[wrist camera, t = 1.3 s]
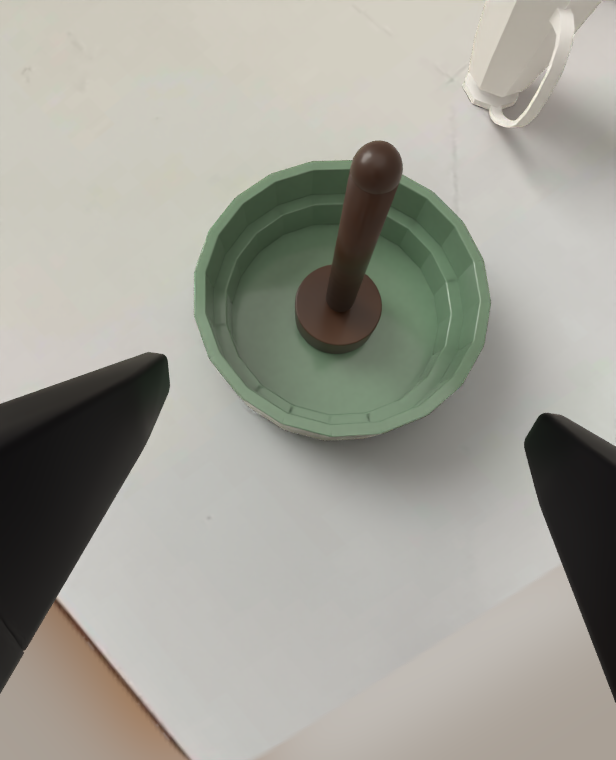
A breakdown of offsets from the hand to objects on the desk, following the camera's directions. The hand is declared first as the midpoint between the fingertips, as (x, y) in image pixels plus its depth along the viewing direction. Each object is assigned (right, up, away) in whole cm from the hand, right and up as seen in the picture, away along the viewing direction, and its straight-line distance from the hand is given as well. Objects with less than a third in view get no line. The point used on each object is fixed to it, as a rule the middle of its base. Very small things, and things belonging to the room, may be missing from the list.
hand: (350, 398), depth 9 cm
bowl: (+1, +4, +14) cm, 15 cm away
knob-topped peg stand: (+1, +4, +14) cm, 14 cm away
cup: (+13, +21, +19) cm, 31 cm away
